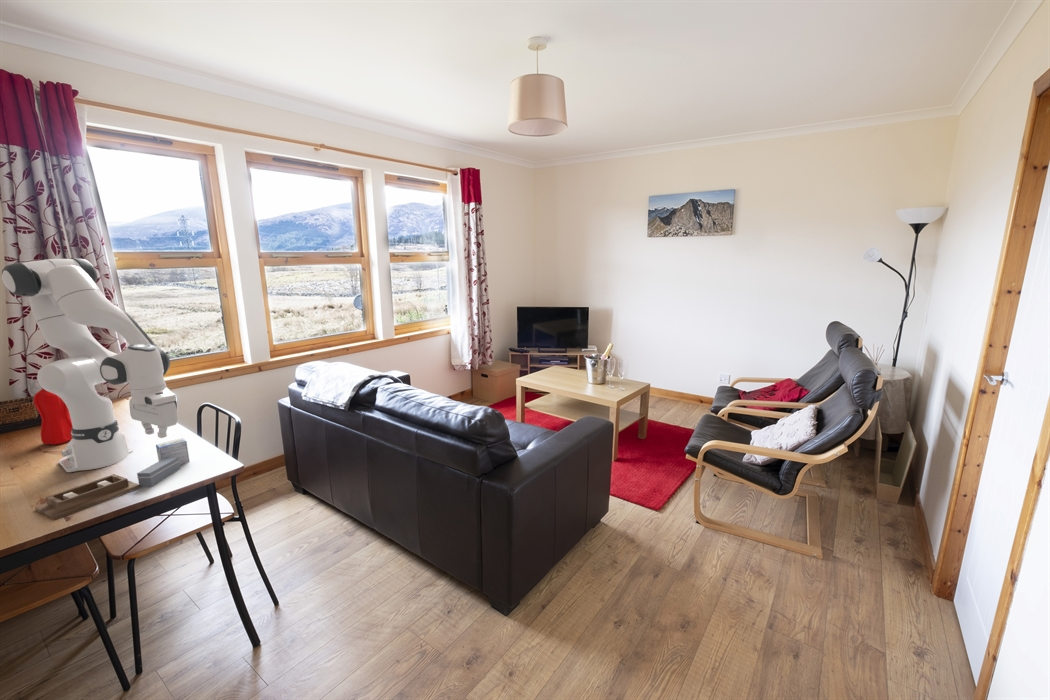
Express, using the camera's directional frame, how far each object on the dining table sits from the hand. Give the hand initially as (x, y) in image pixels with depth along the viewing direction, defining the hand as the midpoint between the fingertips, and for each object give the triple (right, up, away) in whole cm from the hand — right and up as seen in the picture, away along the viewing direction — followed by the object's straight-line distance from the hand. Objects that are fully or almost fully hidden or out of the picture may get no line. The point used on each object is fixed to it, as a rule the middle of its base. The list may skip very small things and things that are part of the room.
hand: (156, 435), depth 147 cm
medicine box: (-3, -13, +12) cm, 18 cm away
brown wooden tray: (-11, -17, -10) cm, 23 cm away
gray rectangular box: (0, -15, +2) cm, 15 cm away
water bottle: (-67, -9, +36) cm, 76 cm away
